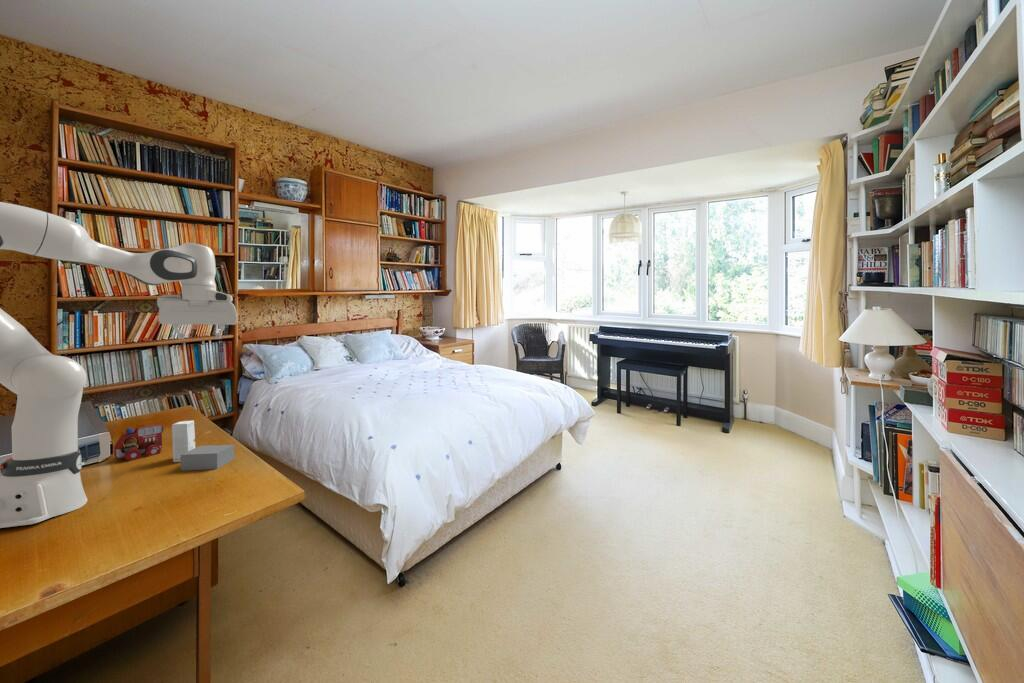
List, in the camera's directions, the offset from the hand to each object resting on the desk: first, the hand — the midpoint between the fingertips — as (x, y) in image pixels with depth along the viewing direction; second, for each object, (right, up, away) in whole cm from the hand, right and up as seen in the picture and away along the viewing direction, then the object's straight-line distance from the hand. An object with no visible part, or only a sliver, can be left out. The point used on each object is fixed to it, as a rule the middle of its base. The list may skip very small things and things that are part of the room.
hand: (200, 339), depth 134 cm
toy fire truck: (-24, -39, +5) cm, 46 cm away
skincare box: (-7, -39, +3) cm, 40 cm away
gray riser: (+4, -40, -2) cm, 40 cm away
